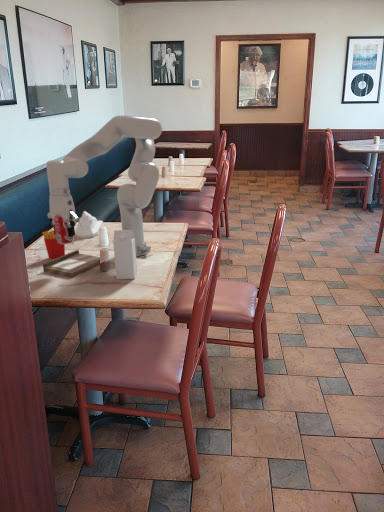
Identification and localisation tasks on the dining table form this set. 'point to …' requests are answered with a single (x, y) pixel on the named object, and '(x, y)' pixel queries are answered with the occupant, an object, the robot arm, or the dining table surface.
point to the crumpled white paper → (88, 226)
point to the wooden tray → (71, 264)
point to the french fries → (53, 245)
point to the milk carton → (125, 254)
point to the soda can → (62, 231)
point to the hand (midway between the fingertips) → (64, 234)
